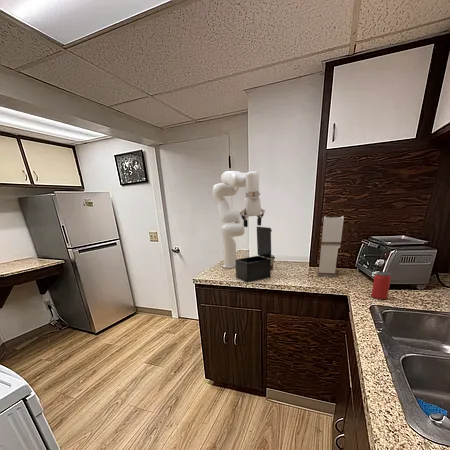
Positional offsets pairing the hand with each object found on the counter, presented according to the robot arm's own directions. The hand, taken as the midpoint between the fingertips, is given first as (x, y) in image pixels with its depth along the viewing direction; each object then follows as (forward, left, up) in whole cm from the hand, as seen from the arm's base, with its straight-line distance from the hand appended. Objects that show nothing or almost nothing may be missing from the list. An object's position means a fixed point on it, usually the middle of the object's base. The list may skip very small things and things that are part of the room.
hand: (252, 226), depth 149 cm
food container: (-11, +19, -32) cm, 39 cm away
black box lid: (0, +8, -11) cm, 13 cm away
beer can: (+65, +30, -32) cm, 78 cm away
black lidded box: (0, 0, -32) cm, 32 cm away
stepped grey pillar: (+23, +43, -32) cm, 58 cm away
